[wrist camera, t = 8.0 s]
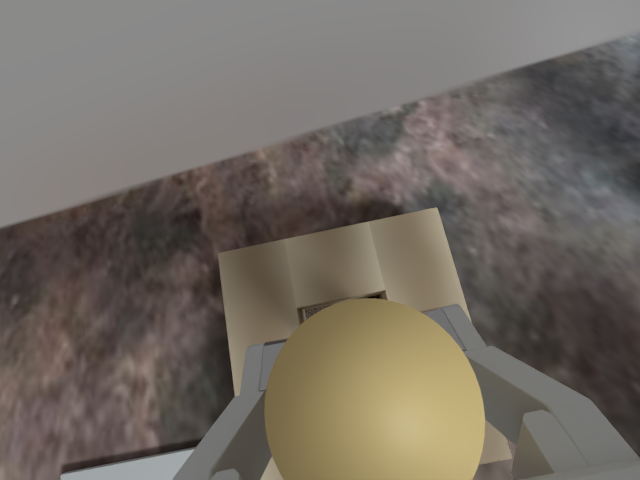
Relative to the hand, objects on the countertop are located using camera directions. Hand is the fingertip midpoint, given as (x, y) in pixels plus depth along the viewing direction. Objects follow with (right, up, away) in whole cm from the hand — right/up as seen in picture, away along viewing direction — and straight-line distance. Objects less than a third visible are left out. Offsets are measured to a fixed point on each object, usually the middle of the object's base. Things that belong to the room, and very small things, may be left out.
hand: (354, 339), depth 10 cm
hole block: (+1, -3, +10) cm, 10 cm away
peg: (+1, -2, +6) cm, 6 cm away
